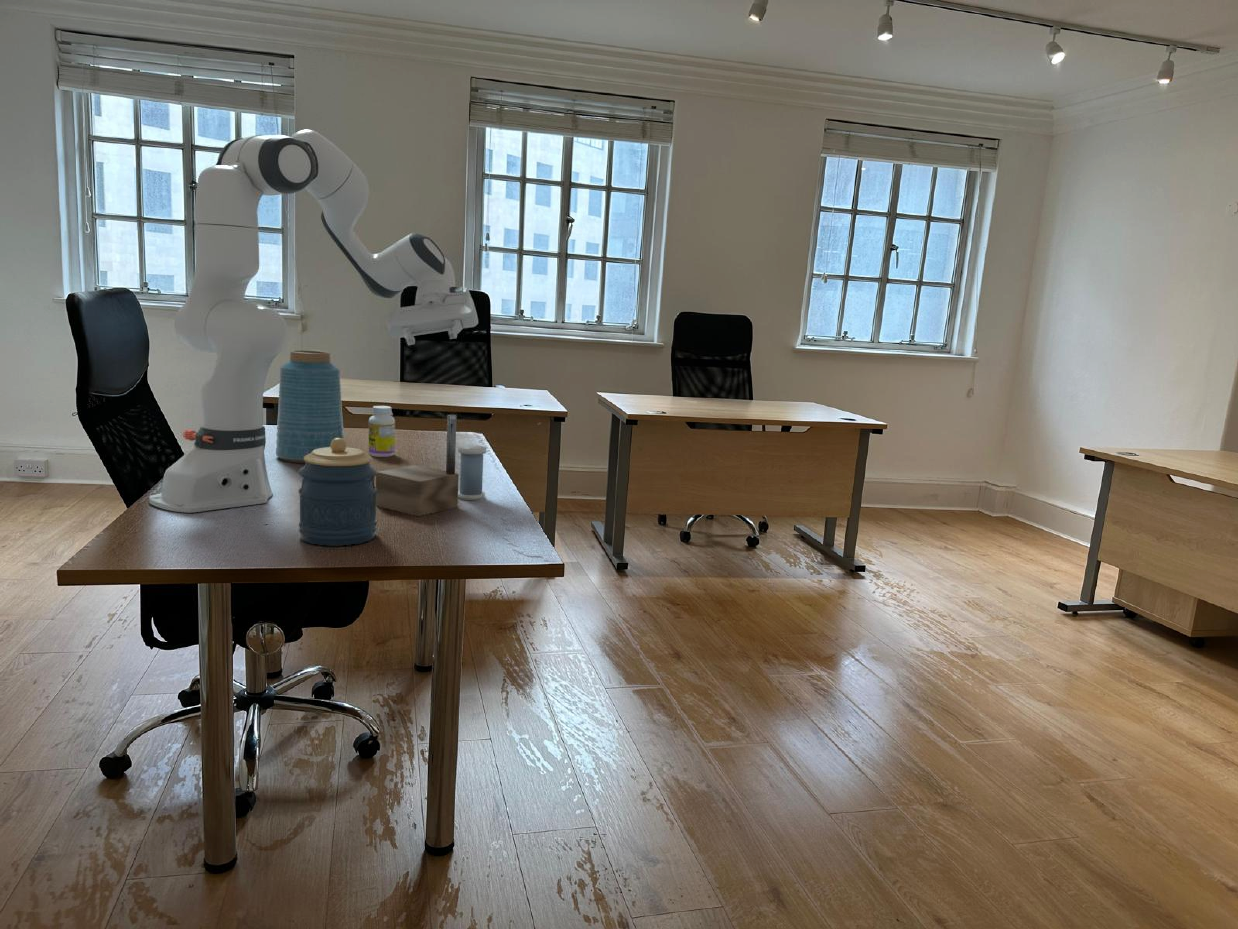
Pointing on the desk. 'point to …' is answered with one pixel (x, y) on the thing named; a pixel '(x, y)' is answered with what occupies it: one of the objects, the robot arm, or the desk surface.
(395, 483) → the walnut shelf block
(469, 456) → the cord spool
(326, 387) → the vase
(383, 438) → the supplement bottle
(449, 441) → the hook post
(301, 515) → the canister
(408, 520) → the desk surface
